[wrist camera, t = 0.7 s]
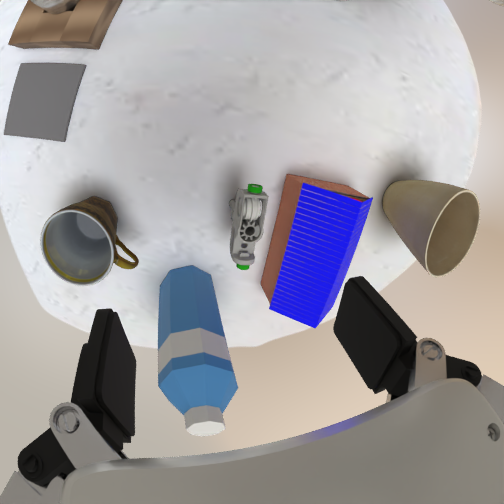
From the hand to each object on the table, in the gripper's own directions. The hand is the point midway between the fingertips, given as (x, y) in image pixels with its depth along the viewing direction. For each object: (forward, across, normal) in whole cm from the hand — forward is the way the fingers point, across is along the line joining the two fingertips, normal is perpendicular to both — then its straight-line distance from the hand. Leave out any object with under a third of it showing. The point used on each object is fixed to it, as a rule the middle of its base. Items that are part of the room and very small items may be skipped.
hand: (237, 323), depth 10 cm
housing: (+30, +18, -28) cm, 44 cm away
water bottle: (+30, +3, +20) cm, 36 cm away
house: (+30, -17, +12) cm, 36 cm away
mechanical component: (+30, -5, +6) cm, 31 cm away
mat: (+29, +22, -14) cm, 39 cm away
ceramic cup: (+30, +14, +6) cm, 33 cm away
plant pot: (+30, -36, +6) cm, 47 cm away
